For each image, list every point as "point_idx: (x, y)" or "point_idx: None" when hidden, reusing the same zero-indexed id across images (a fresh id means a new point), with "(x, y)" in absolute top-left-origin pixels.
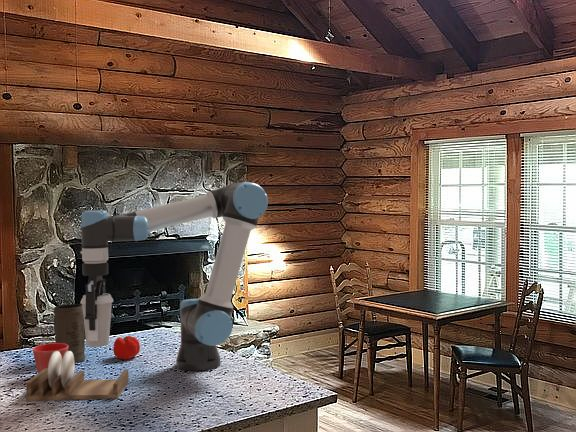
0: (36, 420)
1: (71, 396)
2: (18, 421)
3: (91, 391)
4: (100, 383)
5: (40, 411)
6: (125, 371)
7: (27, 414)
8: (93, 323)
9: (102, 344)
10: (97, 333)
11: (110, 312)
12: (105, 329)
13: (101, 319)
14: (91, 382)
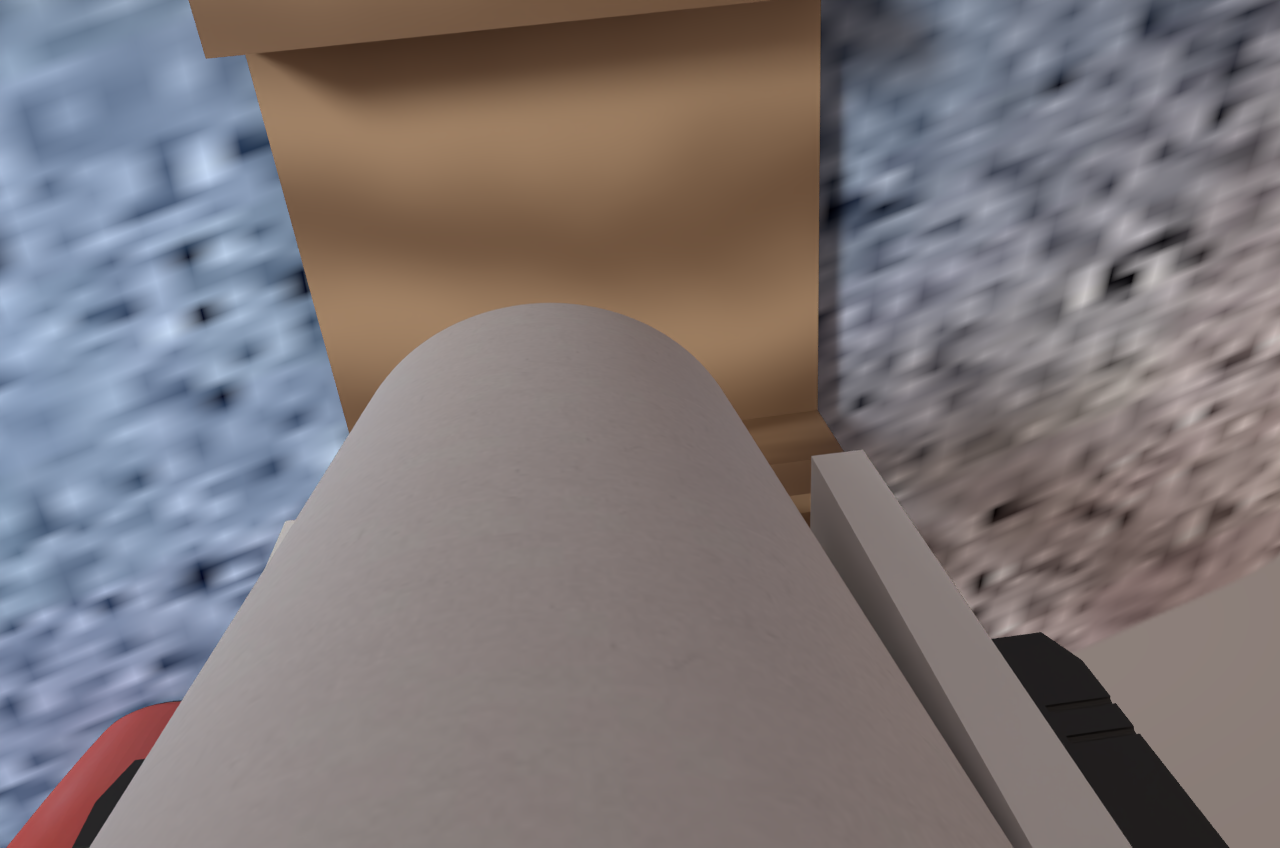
0: (1233, 427)
1: (815, 390)
2: (1216, 526)
3: (710, 264)
4: (449, 273)
5: (1049, 483)
6: (291, 12)
7: (1093, 535)
8: (1170, 791)
9: (698, 367)
10: (922, 540)
11: (499, 809)
12: (725, 468)
13: (946, 758)
14: None
